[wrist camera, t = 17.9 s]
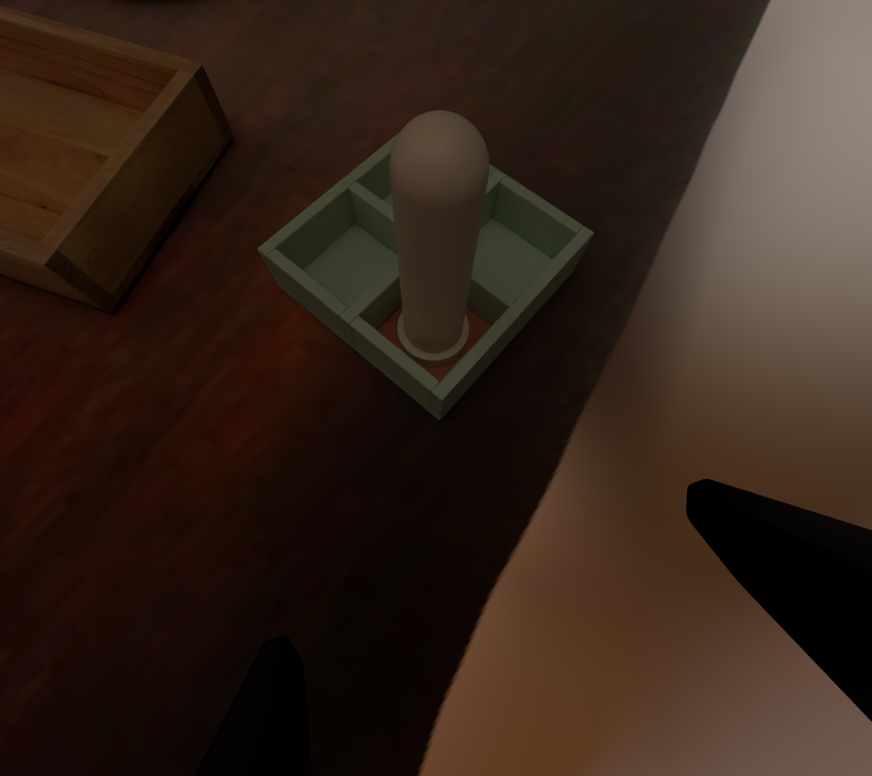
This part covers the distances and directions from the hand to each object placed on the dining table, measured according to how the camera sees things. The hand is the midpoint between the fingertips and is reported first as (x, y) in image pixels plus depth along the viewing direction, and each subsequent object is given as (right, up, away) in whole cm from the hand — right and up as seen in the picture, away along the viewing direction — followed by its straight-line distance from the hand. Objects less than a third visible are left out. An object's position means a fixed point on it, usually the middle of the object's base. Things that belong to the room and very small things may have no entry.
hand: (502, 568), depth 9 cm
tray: (-32, +19, +21) cm, 43 cm away
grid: (-2, +11, +18) cm, 21 cm away
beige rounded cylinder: (-2, +7, +16) cm, 18 cm away
